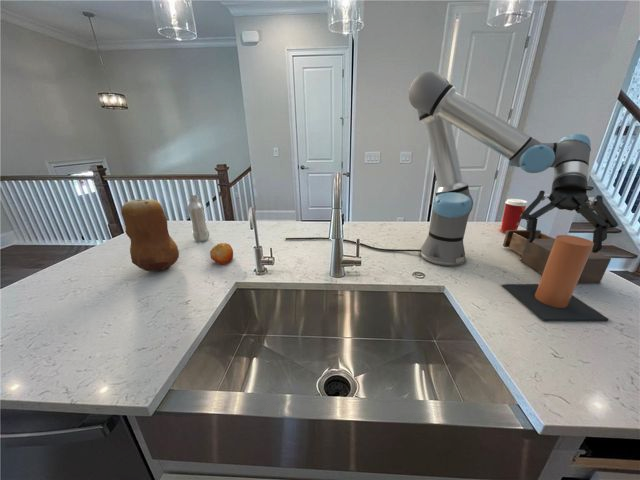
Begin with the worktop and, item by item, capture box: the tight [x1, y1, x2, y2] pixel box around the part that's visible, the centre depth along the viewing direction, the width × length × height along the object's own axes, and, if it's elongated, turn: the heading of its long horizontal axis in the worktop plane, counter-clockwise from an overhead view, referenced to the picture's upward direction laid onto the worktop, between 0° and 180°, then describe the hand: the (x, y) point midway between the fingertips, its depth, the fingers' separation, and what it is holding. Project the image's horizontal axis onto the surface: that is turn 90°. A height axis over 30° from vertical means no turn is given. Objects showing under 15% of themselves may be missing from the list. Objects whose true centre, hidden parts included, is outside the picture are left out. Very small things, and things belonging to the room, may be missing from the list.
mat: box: [501, 283, 609, 322], centre depth 72 cm, size 16×16×1 cm
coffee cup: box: [500, 198, 528, 234], centre depth 118 cm, size 8×8×15 cm
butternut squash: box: [120, 198, 180, 272], centre depth 87 cm, size 14×13×25 cm
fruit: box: [209, 242, 234, 265], centre depth 95 cm, size 8×8×8 cm
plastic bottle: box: [186, 194, 210, 242], centre depth 112 cm, size 6×7×20 cm
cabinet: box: [519, 238, 612, 284], centre depth 86 cm, size 16×14×9 cm
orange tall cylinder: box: [535, 234, 594, 308], centre depth 68 cm, size 7×7×18 cm
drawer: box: [502, 229, 555, 256], centre depth 98 cm, size 19×12×7 cm, turn 179°
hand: (562, 245), depth 71 cm, fingers open, 13 cm apart
